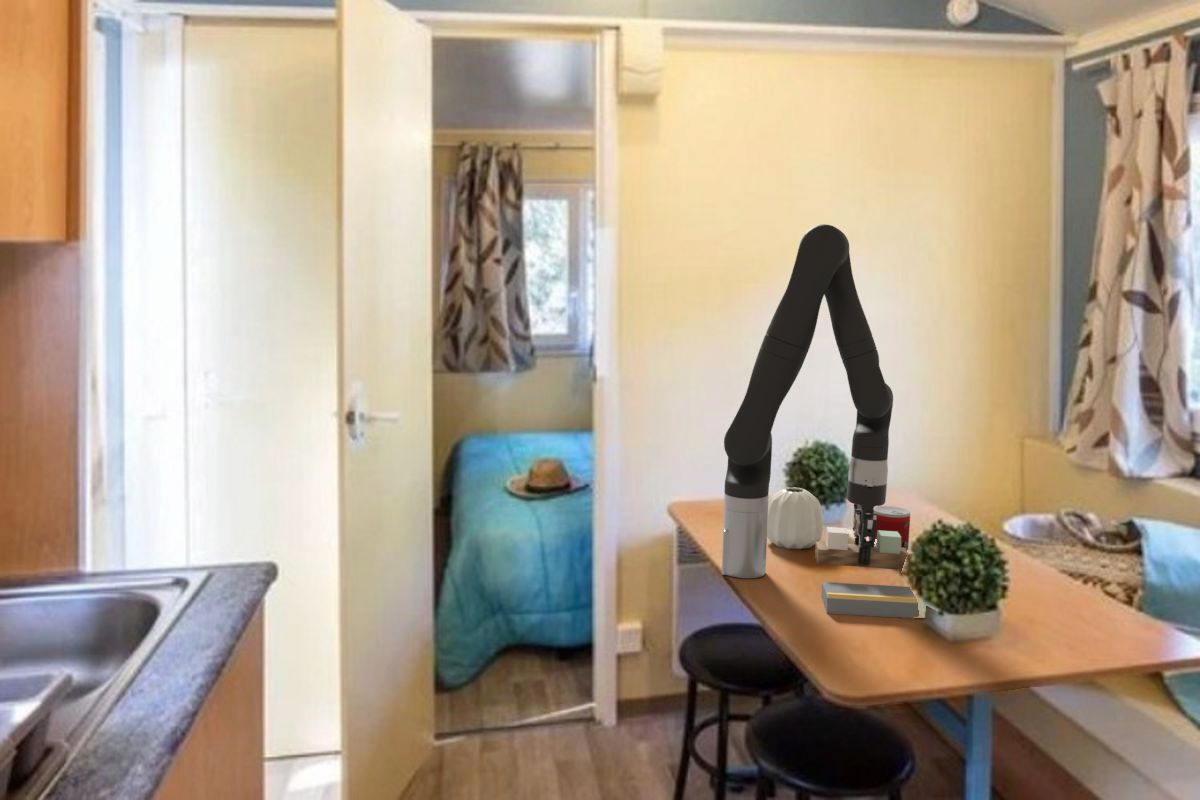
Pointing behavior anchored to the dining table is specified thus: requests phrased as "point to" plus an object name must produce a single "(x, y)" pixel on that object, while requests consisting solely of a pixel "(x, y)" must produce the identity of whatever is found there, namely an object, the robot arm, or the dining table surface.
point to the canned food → (893, 522)
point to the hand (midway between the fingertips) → (861, 559)
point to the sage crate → (888, 542)
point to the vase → (794, 519)
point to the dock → (869, 600)
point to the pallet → (852, 554)
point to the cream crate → (837, 538)
